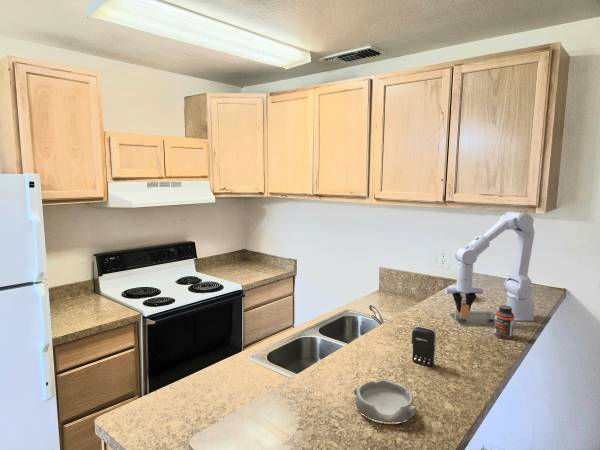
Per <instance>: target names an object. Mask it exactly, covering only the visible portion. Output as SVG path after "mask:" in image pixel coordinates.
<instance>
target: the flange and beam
mask: <svg viewBox="0 0 600 450" xmlns="http://www.w3.org/2000/svg"><path fill="white" fill-rule="evenodd" d="M449 316H450V317H451V318H452V319H453V320H454V321H456V323H457V324H458V325H459V326H462V327H495V320H496V313H494V311H492V310H470V311H469V314H468V318H465V320H463V318H460V312H459V311H457V310H455V311H454V312H453V313H451V312H450V313H449Z"/></svg>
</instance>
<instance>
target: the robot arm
mask: <svg viewBox="0 0 600 450" xmlns="http://www.w3.org/2000/svg"><path fill="white" fill-rule="evenodd" d="M534 221H535V219H534V218H533V217H532V216H531V215H530V213H527V212H518V211H513V210H508V211H506V212H505V213H504V214H503V215H501V216H500V217H499V219H498V221H496V223H494V225H492V226H491V227H490V228H489V229H488V230H487V231H486V232H485V233H483V235H477V236H476V235H475V236H474V237H473V239H472V240H471V241H470V242H469V243H468V244H465V245H464V247H462V248H461V247H460V248H458V250H457V251H456V253H455V254H454V257H455V260H456V261H457V268H456V269H457V271H456V272H457V273H456V285H457V287H453V288H448V287H445V289H444V293H445V294H446V295H449V294H452V295H453V297H454V303H455V306H456V311H459V312H460V311H461V302H462V301H461V300H462V296H461V294H465V295H466V301H465V302H466V303H467V304H468V305H469V311H471V307H472V305H473V304H474V301H475V300H476V299H477V295H476V294H480V295H483V294H484V289H483V288H482V287H473V279H474V277H473V275H474V264H475V263H476V262H477V260H478V258H479V256H480V255H481V254H482V253H483V252H484V251H486V250H487V249H488V248H489V247H490V243H491V241H493V240H495V238H497V237H498V236H499V235H501V234H503V233H504V232H505V231H507V230H508V231H509V230H513V231H514V232H515V233H516V234H517V240H516V244H515V245H516V246H515V253H514V257H513V265H512V271H511V272H510V273H508V275H507V276H506V279H505V281H504V282H503V290H504V291H505V292H506V293H505V294H506V303H505V305H506V306H510V307H512V311H511V312H512V313H513V314H514V322H515V321H517V322H518V321H522V322H523V321H524V322H525V321H526V322H527V321H528V322H530V321H531V322H532V321H535V319H534V310H535V301H534V299H533V298H532V297H531V296H532V293H533V288H532V280H531V278H530V277H529V275H528V272H529V267H530V261H531V255H532V250H533V245H534V244H533V243H534V238H535V229H534Z"/></svg>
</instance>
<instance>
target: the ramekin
mask: <svg viewBox="0 0 600 450" xmlns="http://www.w3.org/2000/svg"><path fill="white" fill-rule="evenodd" d="M453 287H457V284H451V285H448V286H447V288H453ZM448 295H449V297H450V298H452V300H453V299H454V297H453V295H452V294H448ZM461 296H462V300H461V302H466V295H465V294H461Z"/></svg>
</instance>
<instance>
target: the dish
mask: <svg viewBox="0 0 600 450" xmlns="http://www.w3.org/2000/svg"><path fill="white" fill-rule="evenodd" d="M353 393H354V395H355V404H356V408H357V410H358V409H359V410H358V412H359V411H360V412H361V413H362V414H364V415H365V416H367V417H369V418H371V419H374V420H378V421H383V422H403V421H405V420H408V419H409V418H410V417H411V418H412V417H414V416H415V414H416V412H417V406H416V405H414V397H413V394H412V392H411V391H410V390H409V389H408V388H407V387H405V386H404V385H401V384H399V383H396V382H394V381H390V380H386V379H380V380H377V381H375V380H369V381H366V382H364V383H362V384H361V385H359V386H358V385H357V386H356V387H355V388H354V392H353ZM360 412H359V413H360ZM361 413H360V414H361ZM411 418H410V419H411ZM410 419H409V420H410ZM409 420H408V421H409Z"/></svg>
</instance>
